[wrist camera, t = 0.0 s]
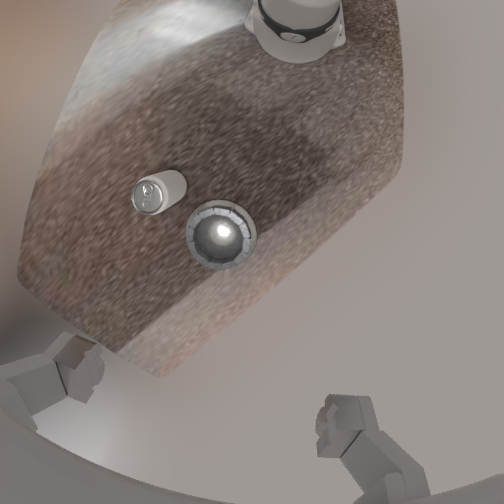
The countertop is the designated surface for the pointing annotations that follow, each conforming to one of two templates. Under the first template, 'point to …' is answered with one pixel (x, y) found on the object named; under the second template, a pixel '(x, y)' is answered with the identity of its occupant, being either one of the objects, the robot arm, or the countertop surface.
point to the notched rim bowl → (221, 234)
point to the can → (158, 192)
